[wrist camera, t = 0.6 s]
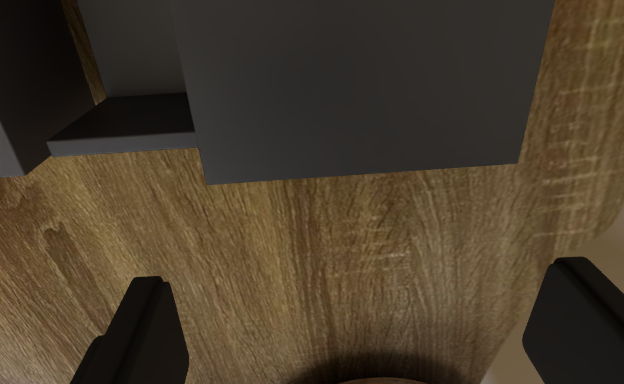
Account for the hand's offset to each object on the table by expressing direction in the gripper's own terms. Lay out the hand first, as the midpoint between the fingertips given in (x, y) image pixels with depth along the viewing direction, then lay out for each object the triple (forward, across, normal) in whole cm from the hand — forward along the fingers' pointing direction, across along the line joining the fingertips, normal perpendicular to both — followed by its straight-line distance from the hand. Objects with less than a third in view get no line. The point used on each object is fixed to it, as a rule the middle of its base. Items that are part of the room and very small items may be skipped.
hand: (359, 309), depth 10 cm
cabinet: (+18, -1, -5) cm, 18 cm away
